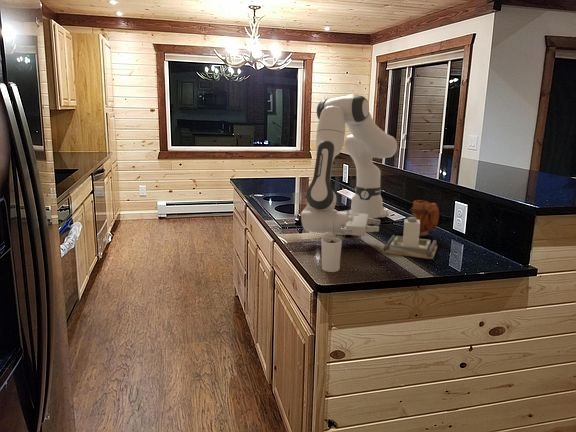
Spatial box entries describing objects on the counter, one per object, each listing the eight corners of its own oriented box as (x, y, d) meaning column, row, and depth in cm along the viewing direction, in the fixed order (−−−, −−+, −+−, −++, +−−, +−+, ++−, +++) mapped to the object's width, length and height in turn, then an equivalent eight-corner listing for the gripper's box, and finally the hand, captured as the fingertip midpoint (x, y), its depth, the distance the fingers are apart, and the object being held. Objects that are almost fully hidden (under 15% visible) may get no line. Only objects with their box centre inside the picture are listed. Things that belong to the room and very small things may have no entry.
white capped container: (402, 244, 177) (404, 215, 174) (417, 245, 176) (419, 216, 173) (402, 248, 172) (404, 219, 169) (418, 249, 171) (420, 220, 168)
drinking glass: (318, 266, 157) (318, 237, 154) (336, 264, 158) (337, 236, 156) (324, 273, 151) (324, 243, 148) (343, 271, 152) (344, 242, 150)
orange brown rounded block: (404, 232, 196) (406, 198, 193) (419, 231, 199) (422, 196, 195) (426, 242, 183) (429, 205, 179) (442, 240, 186) (446, 204, 182)
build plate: (362, 234, 195) (362, 224, 194) (361, 239, 188) (362, 228, 187) (332, 233, 197) (332, 222, 196) (331, 238, 190) (331, 227, 189)
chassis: (390, 240, 185) (390, 233, 184) (437, 246, 178) (438, 239, 177) (381, 253, 170) (381, 245, 169) (432, 260, 163) (433, 252, 162)
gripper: (339, 221, 167) (378, 224, 164) (346, 209, 186) (381, 211, 183) (339, 238, 168) (377, 241, 165) (345, 224, 188) (380, 226, 185)
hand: (379, 225), depth 174 cm, fingers open, 8 cm apart
